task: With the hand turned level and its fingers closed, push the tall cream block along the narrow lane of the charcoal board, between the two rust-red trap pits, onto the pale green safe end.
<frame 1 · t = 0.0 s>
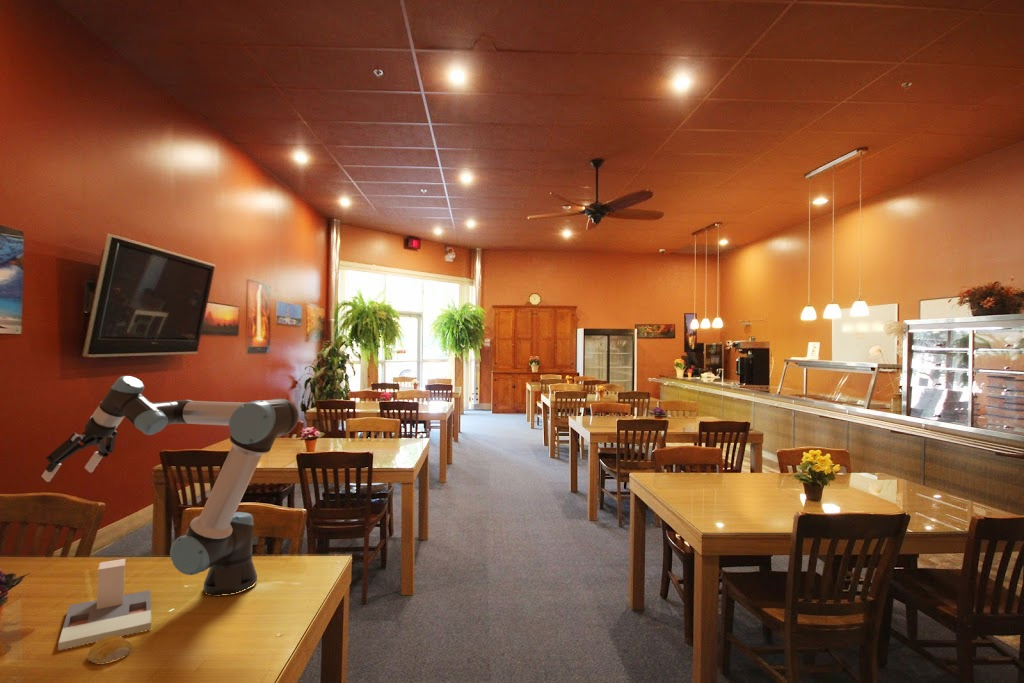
hand: (67, 474, 166), 36 cm above the table, tool tilted 35°, fingers open, 13 cm apart
safe end: (107, 633, 140), on the table
cream block: (110, 602, 153), point 2 cm above the table, touching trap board
bread roll: (110, 656, 130), on the table
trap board: (108, 621, 147), on the table
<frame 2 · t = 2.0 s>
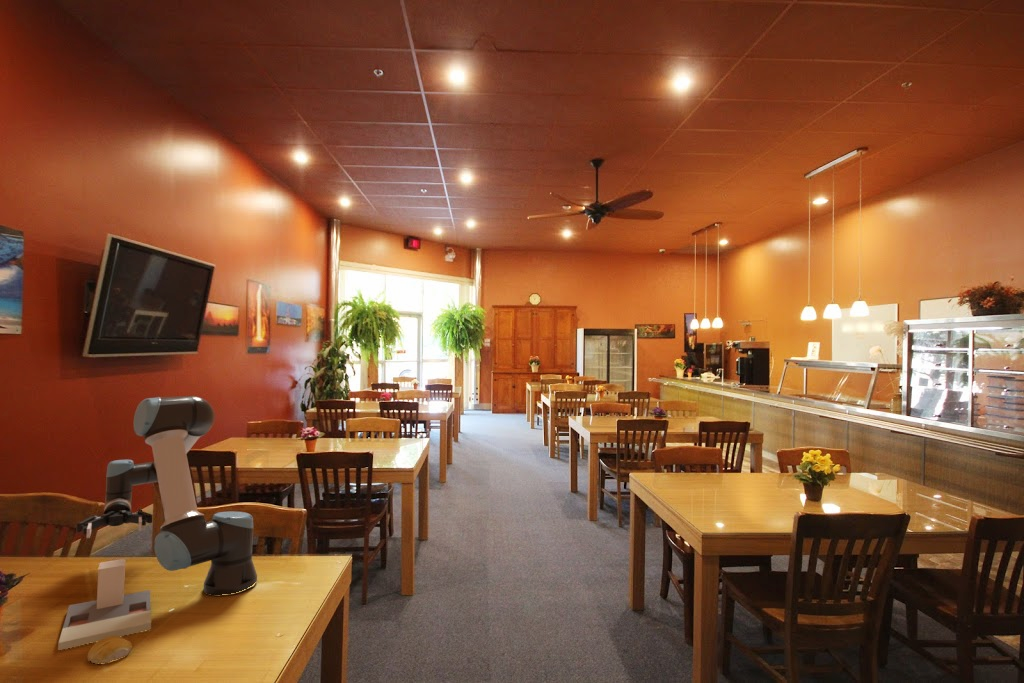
hand: (114, 529, 162), 20 cm above the table, tool horizontal, fingers open, 12 cm apart
nothing on the table moved.
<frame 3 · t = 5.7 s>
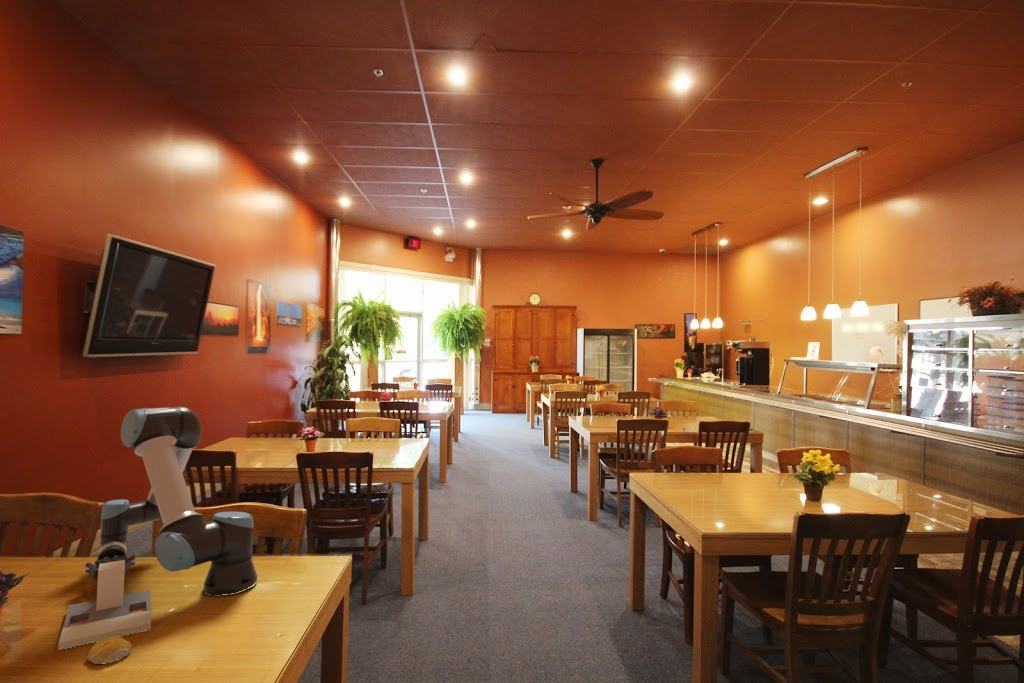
hand: (107, 581, 155), 7 cm above the table, tool horizontal, fingers closed
cream block: (110, 604, 152), point 2 cm above the table
everything else where it was.
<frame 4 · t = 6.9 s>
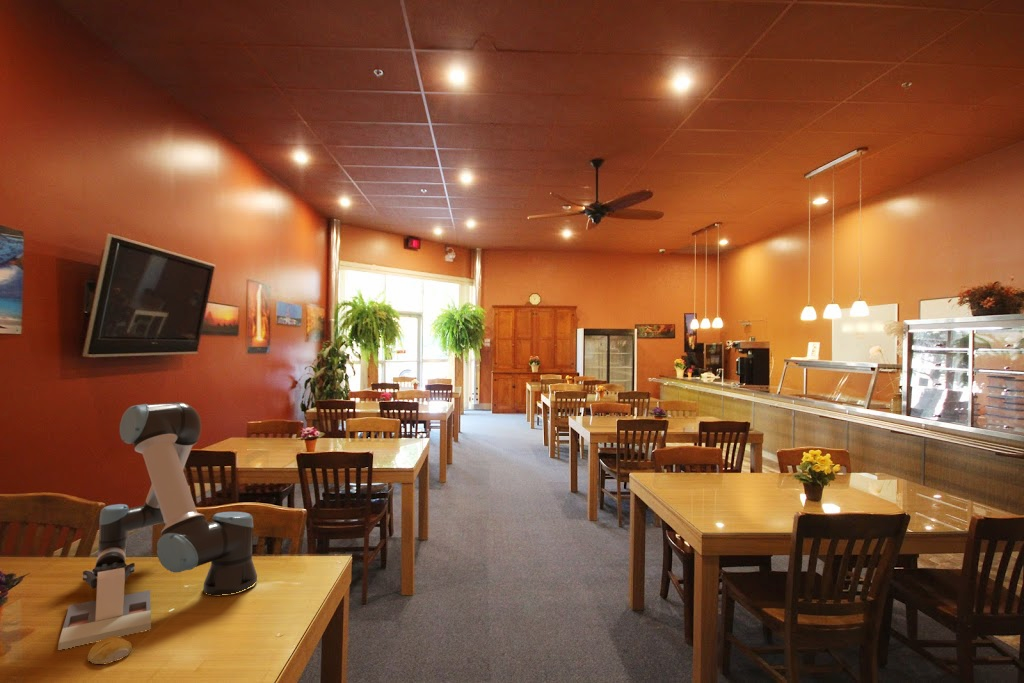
hand: (106, 590, 149), 7 cm above the table, tool horizontal, fingers closed
cream block: (109, 613, 147), point 2 cm above the table, touching gripper
everything else where it was.
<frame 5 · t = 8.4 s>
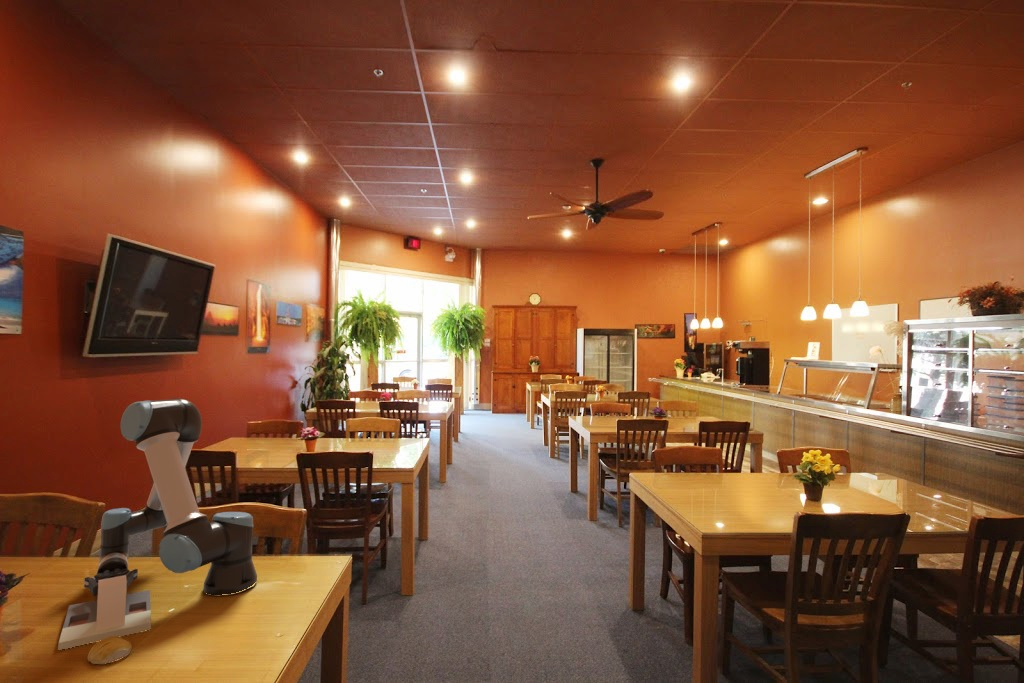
hand: (108, 598, 144), 7 cm above the table, tool horizontal, fingers closed
cream block: (110, 623, 141), point 2 cm above the table, touching safe end
everything else where it was.
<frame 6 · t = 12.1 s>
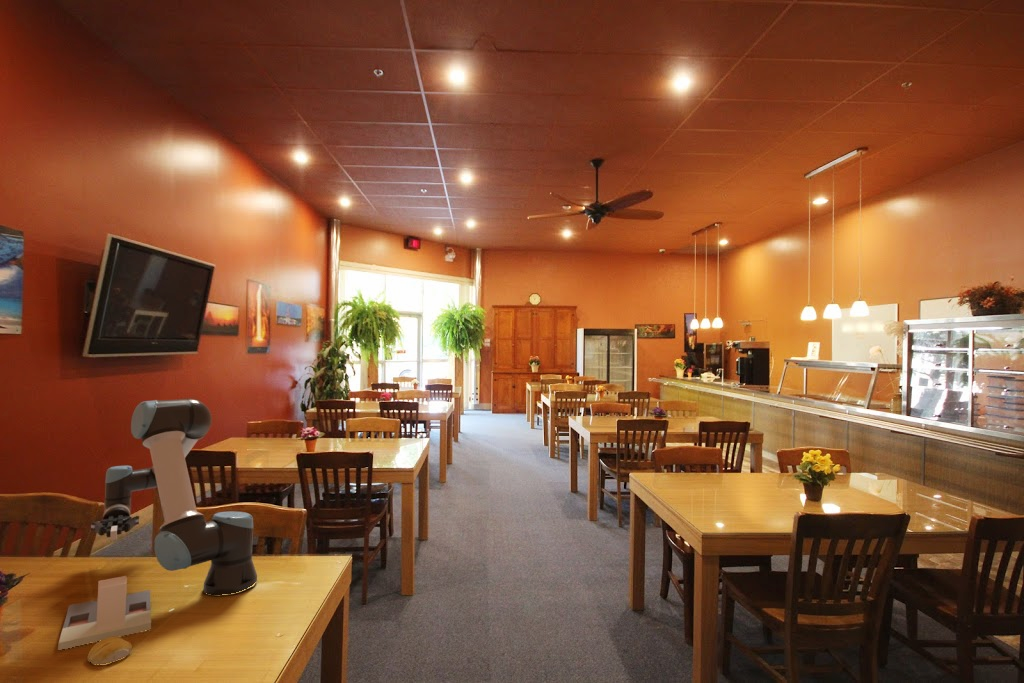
hand: (113, 535, 161), 19 cm above the table, tool horizontal, fingers closed
nothing on the table moved.
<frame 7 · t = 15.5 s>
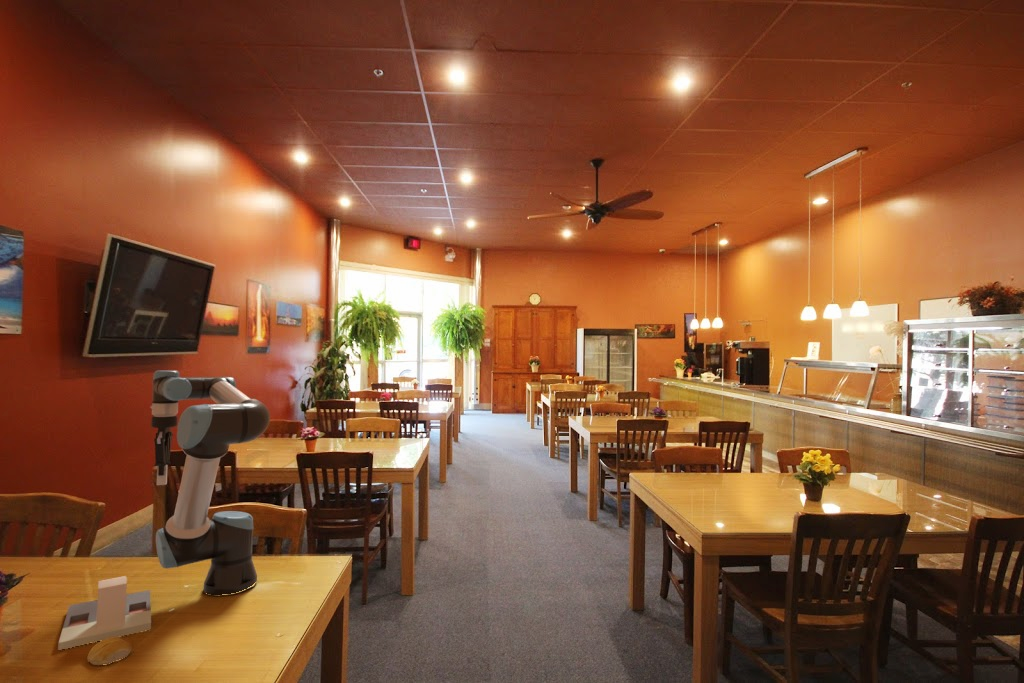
hand: (161, 484, 182), 29 cm above the table, tool pointing down, fingers closed
nothing on the table moved.
at the end: cream block 0.8 cm from the safe end (horizontally); cream block tilted 0°; cream block point 2.0 cm above the table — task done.
